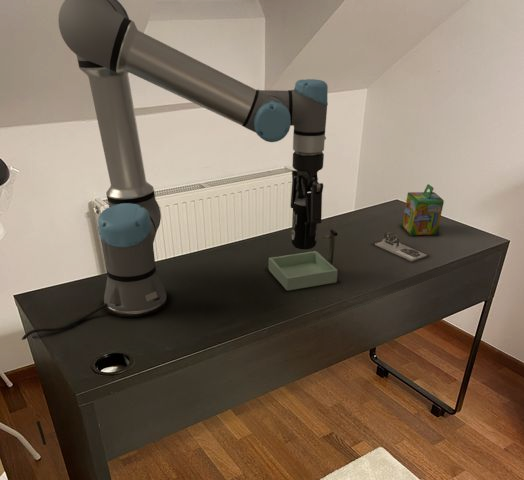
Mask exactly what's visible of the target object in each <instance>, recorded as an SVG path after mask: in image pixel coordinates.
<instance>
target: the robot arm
mask: <svg viewBox="0 0 524 480" xmlns="http://www.w3.org/2000/svg"><path fill="white" fill-rule="evenodd" d="M59 8H60V9H59V12H58V28H59V32H60V35H61V38H62V40H63V41H64V43H65V45H66V46H67V47H68V49H69V50H70V51H71V52H72V53H74V54H75V55H76V60H77V65H78V69H79V70H81V71H82V72H83V74H85V75H86V76H87V77H88V81H89V86H90V92H91V96H92V100H93V107H94V110H95V116H96V121H97V126H98V129H99V130H98V131H99V135H100V139H101V144H102V149H103V153H104V158H105V164H106V168H107V174H108V178H109V184H110V187H109V188H108V189H107V191H106V199H107V204H108V207H106V208H105V209H103V210H102V211H101V213H100V214H99V216H98V220H97V222H98V226H97V228H98V229H97V230H98V234H99V237H100V243H101V248H102V253H103V254H102V255H103V259H104V265H105V270H106V277H107V278H106V284H105V290H104V294H103V304H102V305H100V306H99V307H96V308H95V309H93V310H91V311H90V312H88V313H86V314H85V315H83V316H81V317H79V318H76V319H75V320H72V321H70V322H69V323H67V324H65V325H62V326H58V327H40V328H35V329H32V330H29V331H27V332H26V333H25V334H24V335H23V336H22V337H21V340H22V341H24V340H26V339H27V338H28V337H29V336H30V335H32V334H34V333H39V332H56V331H62V330H65V329H68V328H69V327H73V326H74V325H76V324H77V323H79V322H81V321H83V320H85V319H87V318H89V317H91V316H93V315H94V314H96V313H98V312H99V311H101V310H102V309H105V310H106V311H107V312H108V313H109V314H111V315H113V316H117V317H123V318H139V317H144V316H145V317H146V316H149V315H152V314H154V313H156V312H158V311H160V310H161V309H163V308H164V307H165V306H166V304H167V301H168V300H167V299H168V297H167V292H166V289H165V287H164V285H163V283H162V281H161V279H160V276H159V274H158V272H157V266H156V258H155V249H154V248H155V247H154V242H155V238H156V236H157V232H158V229H159V227H160V224H161V219H162V214H161V208H160V205H159V203H158V201H157V200H156V194H155V189H154V186H153V185H152V184H150V183H149V182H148V181H147V178H146V172H145V165H144V160H143V153H142V149H141V142H140V136H139V129H138V124H137V119H136V113H135V107H134V101H133V95H132V89H131V88H132V87H131V84H130V83H131V82H130V77H129V74H132V75H133V76H135V77H138V78H140V79H142V80H144V81H146V82H147V83H150V84H153V85H154V86H156V87H159V88H161V89H163V90H165V91H167V92H170V93H172V94H174V95H176V96H178V97H181V98H182V99H185V100H186V101H189V102H191V103H193V104H195V105H197V106H199V107H201V108H204V109H206V110H208V111H210V112H212V113H215V114H217V115H218V116H221V117H223V118H224V119H227V120H229V121H231V122H233V123H236V124H237V125H240V126H241V127H243V128H245V129H247V130H249V131H251V132H253V133H256V135H257V136H258V137H259V138H260V139H262V140H263V141H264V142H267V143H276V142H279V141H281V140H283V139H285V137H287V136H288V134H289V132H290V129H291V127H293V133H292V150H293V151H294V152H293V153H292V168H293V169H294V170H292V171H291V181H292V182H291V193H290V208H291V209H293V205H294V204H295V200H296V199H303V198H305V200H306V212H307V222H305V242H304V247H305V248H309V247H313V248H315V247H316V245H315V237H316V224H317V225H318V224H322V216H323V215H322V214H323V213H322V211H323V210H322V209H323V191H324V183H323V182H319V181H318V180H319V177H318V172H319V171H321V170H323V168H324V161H325V160H324V159H325V154H324V151H325V141H326V140H327V137H326V127H327V114H328V106H329V103H328V93H329V91H328V89H329V87H328V84H327V82H326V81H324V80H322V79H314V78H312V79H311V78H307V79H299V80H297V81H296V82H295V83H294V84H295V85H294V87H293V88H294V89H291V90H290V89H288V90H273V89H272V90H271V89H269V90H268V89H267V90H266V89H265V90H264V89H263V90H262V89H261V90H260V89H255V88H253V86H249V85H248V84H245V83H244V82H241V81H239V80H238V79H236V78H233V77H231V76H230V75H227V74H226V73H223V72H222V71H220V70H218V69H215V68H213V67H211V66H210V65H208V64H206V63H203V62H202V61H200V60H198V59H196V58H193V57H192V56H190V55H188V54H186V53H184V52H182V51H180V50H178V49H177V48H174V47H172V46H170V45H168V44H166V43H164V42H163V41H160V40H158V39H156V38H154V37H152V36H150V35H148V34H147V33H144V32H142V31H140V30H139V29H138V28H137V25H136V23H135V21H133V20H132V19H130V17H129V15H128V13H127V10H126V9H125V7H124V6H123V4H122V3H121V2H120V1H119V0H63V2H62V4H61V5H60V7H59ZM35 422H36V425H37V428H38V432H39V435H40V438H41V441H42V445H43V446H45V445H47V442H46V438H45V435H44V432H43V427H42V424H41V422H40V420H36V421H35Z"/></svg>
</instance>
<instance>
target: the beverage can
mask: <svg viewBox="0 0 524 480" xmlns="http://www.w3.org/2000/svg"><path fill="white" fill-rule="evenodd" d="M291 219H292V221H291V245H292V246H293V247H294V249H298V250H311V249H313V248H314V247H309V248H305V247H304V242H305V222H307V212H306V200H305V198H303V199H296V200H295V204H294V205H293V208H292V218H291ZM317 238H318V224H316V237H315V246H316V245H317Z"/></svg>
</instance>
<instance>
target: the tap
mask: <svg viewBox="0 0 524 480" xmlns="http://www.w3.org/2000/svg"><path fill="white" fill-rule="evenodd" d="M329 233H330V234H324V235H323V236H322V238H323V240H327V239H329V241H328V242H329V243H328V255H327V261H328V262H329V263H330V264H331V265H332V266H333V263H334V254H335V242H336V237H338V232H337V231H336V230H334V229H330V230H329Z"/></svg>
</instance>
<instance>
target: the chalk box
mask: <svg viewBox="0 0 524 480" xmlns="http://www.w3.org/2000/svg"><path fill="white" fill-rule="evenodd" d="M434 189H435V188H434V187H433V186H432V185H430V184H429V183H428V184H427V185H426V186H425V188H424V190H423V191H415V192H414V191H413V192H412V191H411V192H409V191H408V192H407V195H406V200H405V205H404V206H405V208H404V211H403V217H402V220H401V227H402V228H404V230H405V231H406V232H407V233H408V234H409V235H410V236H436V235H438V231H439V225H440V221H441V217H442V212H443V208H444V203H445V200H444V199H443V198H442V197H440V196H439V195H438V194H437V193H436V192H434ZM428 190H429V191H428Z"/></svg>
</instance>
